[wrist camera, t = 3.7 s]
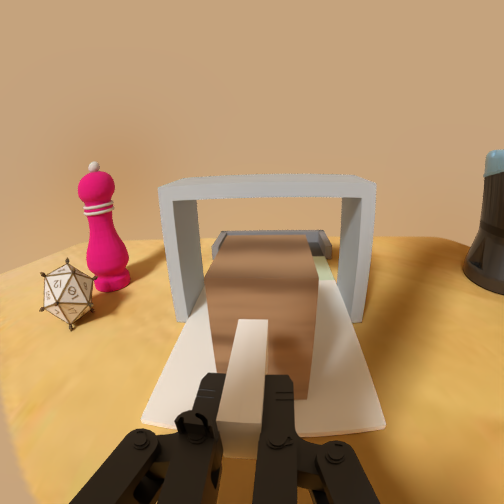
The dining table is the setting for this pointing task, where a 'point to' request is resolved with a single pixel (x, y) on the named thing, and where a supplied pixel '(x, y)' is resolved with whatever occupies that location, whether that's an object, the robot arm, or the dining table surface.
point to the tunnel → (328, 304)
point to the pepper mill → (103, 232)
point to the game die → (68, 293)
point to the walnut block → (266, 301)
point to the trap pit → (314, 237)
